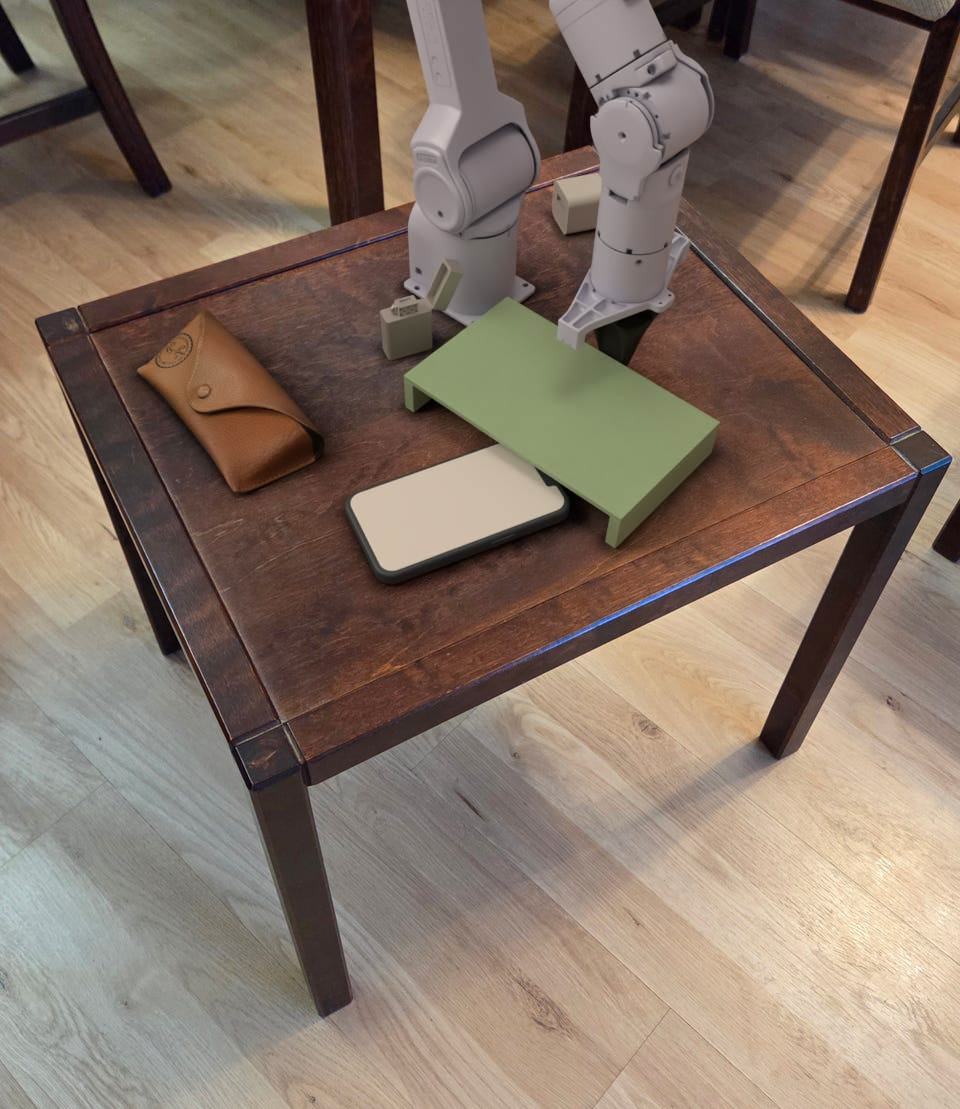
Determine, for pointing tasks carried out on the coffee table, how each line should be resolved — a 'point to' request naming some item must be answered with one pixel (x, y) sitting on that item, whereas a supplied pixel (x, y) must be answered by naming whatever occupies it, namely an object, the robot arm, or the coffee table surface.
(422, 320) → the lighter
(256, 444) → the sunglasses case
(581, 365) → the riser stand
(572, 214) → the usb wall charger
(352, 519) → the phone case
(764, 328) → the coffee table surface
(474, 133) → the robot arm
